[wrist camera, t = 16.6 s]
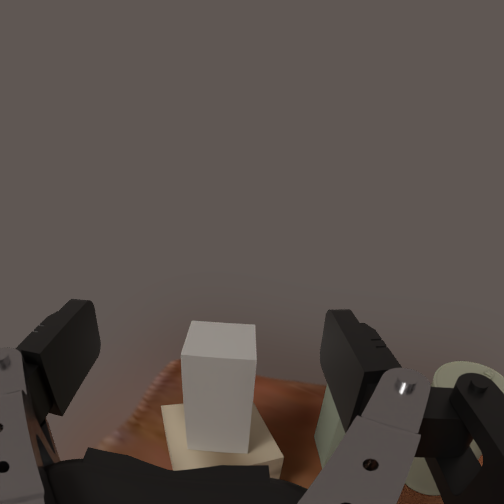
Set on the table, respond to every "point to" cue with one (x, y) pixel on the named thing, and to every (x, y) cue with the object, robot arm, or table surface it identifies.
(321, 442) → the sage block
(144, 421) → the table surface
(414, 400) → the robot arm
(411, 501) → the table surface
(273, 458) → the base block
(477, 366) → the can
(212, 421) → the grey block
